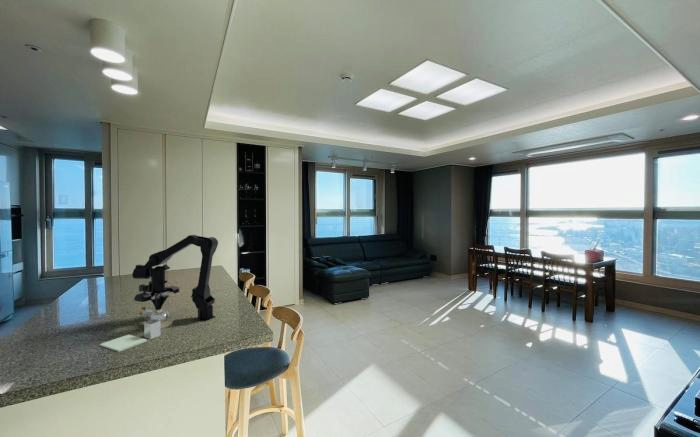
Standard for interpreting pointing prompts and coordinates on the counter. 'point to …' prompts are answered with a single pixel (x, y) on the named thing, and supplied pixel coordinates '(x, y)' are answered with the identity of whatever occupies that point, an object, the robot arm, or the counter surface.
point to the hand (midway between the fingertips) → (158, 311)
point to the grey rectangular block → (152, 329)
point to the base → (166, 322)
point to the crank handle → (155, 314)
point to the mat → (123, 343)
